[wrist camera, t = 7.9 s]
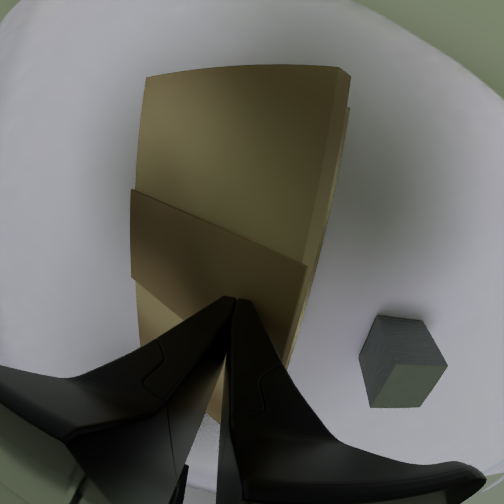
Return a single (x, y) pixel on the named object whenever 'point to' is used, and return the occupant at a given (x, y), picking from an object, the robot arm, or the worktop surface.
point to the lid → (233, 193)
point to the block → (400, 363)
